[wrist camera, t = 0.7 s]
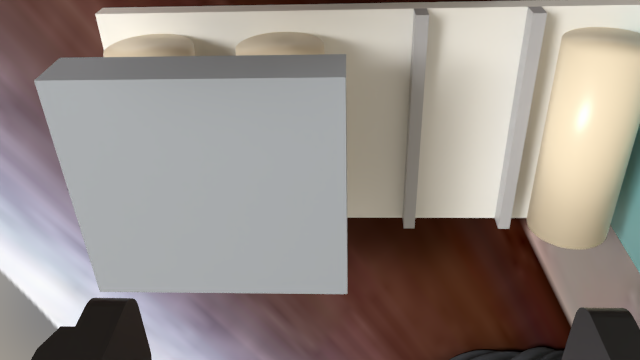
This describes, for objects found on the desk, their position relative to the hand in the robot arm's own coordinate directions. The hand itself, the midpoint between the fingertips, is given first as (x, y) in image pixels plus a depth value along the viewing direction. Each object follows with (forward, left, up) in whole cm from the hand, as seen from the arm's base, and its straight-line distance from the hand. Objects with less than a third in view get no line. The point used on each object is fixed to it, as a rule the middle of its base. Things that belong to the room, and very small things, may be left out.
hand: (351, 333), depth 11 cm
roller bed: (+6, +2, -21) cm, 22 cm away
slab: (+6, -6, -15) cm, 18 cm away
